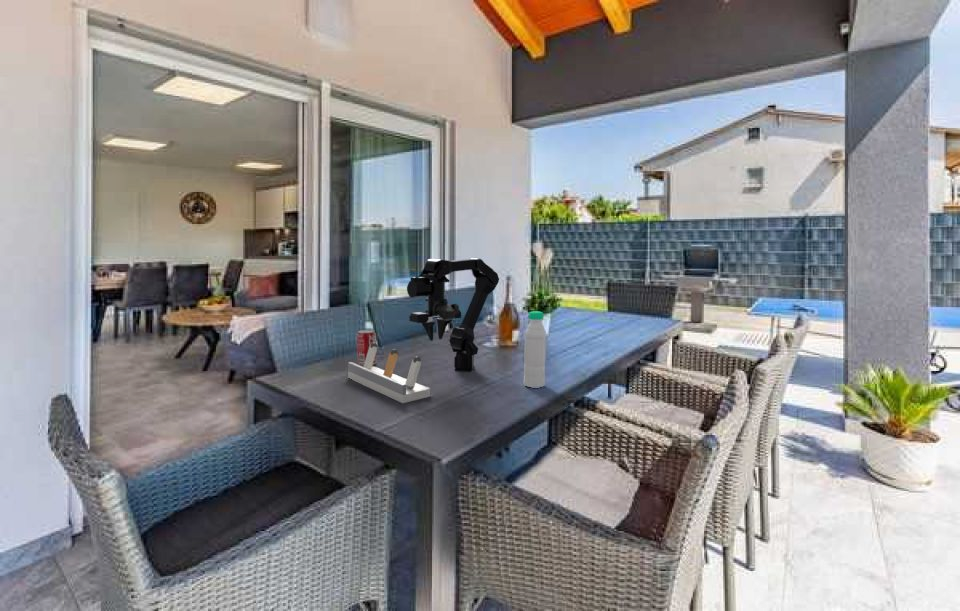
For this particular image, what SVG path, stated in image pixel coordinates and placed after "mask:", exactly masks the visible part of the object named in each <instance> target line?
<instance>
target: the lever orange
mask: <svg viewBox="0 0 960 611" xmlns="http://www.w3.org/2000/svg"><path fill="white" fill-rule="evenodd" d="M398 355H399V351H398V349H396V348H393V349H391V350H390V351H389V354H388V357H387V361H386V364H385V367H384V369H383V370H384V374H383V375H384V376H387V377H389V378H391V377H392V374H394V370H395V366H396V363H397V361H398V360H397V359H398Z"/></svg>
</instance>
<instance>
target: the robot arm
mask: <svg viewBox="0 0 960 611" xmlns="http://www.w3.org/2000/svg"><path fill="white" fill-rule="evenodd" d="M462 271H463V272H464V271H471V274H472V276H473V277H474V279H475V281H474V286H475V287H474V288H475V291H474V292H473V293H474V294H473V296H472V298H471V300H470V303H469V306H468V308H467V310H466V312H465V314H464V317H463V319H462V322H461V324H460V325H459V326H458V327H457V326H453V328H452V331H451V333H450V335H449V336H448V337H449V344H450V347H451V349H452V352H454V353H455V356H454V362H453V365H454V371H455V372H458V371H460V372H470V371H471V372H473V370H474V369H475V367H476V366H475V355H478V353H479V352H478V351H479V348H478V346H477V345H476V344H475V343H474V340H475V332H474V329H475V327H476V325H477V322H478V319H479V318H480V315H481V313H482V310H483V307H484V305H485V303H486V301H487V298H488V296H489V295H490V294H491V293H492V292H494V291H495V289H496V287H497V285H498V284H499V282H500V278H499V275H498V274H499V273H497V272H496V271H495V270H494V269H493V268H491V266H489V265H488V264H486V263H485V262H484V260H483V259H481V258H475V257H471V258H468V259H457V260H456V259H455V260H447V259H438V258H437V259H436V258H435V259H434V258H429V259H427V260H426V262H425V264H424V266H423V269H422V270H421V272H420V274H419V276H411V277H410V281H409V282H408V283H407V285H406V291H407V295H408V296H409V297H410V298H421V297H422V298H423V297H426V298H425V302H427V309H425V312H421V311H418V312H411V313H410V315H409V322H413V323H416V324H422V326H423V328H424V330H425V332H426V334H427V336H428V339H429V341H431V342H433V340H434V326H435V324H436V325H437V334H438V340H442V339H443V337H444V333H445V331H446V329H447V326H448V324H450V323H451V322H453V320H454V319H455V320H456V319H461V318H462V312H461V310H460V308H459V306H460V305H459V304H458V303H452V304H448V300H447V298H445V283H450V279H448V277H447V275H451V273H454V272H462ZM433 319H436V321H434V320H433Z"/></svg>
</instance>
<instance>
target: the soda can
mask: <svg viewBox="0 0 960 611" xmlns="http://www.w3.org/2000/svg"><path fill="white" fill-rule="evenodd" d="M376 338H377V335H376V333H375V330H373V329H360V330H358V331H357V334H356V354H357V365H360V366H362V367H363V366H364V363H365V360H366V356H367V353H368V350H369V346H370V345H371V343H373V342H375V343H377V339H376ZM376 363H377V354H376V355H375V358H374V361H373V365H372V366H375V365H376Z"/></svg>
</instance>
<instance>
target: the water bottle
mask: <svg viewBox="0 0 960 611" xmlns="http://www.w3.org/2000/svg"><path fill="white" fill-rule="evenodd" d="M528 320H529V323H528V325H527V328H526V330H525V332H524V337H525V338H524V348H523V349H524V351H523V352H524V354H523V355H524V356H523V357H524V358H523V359H524V365H523V386H524V385H525V386H529V387H540V386H544V387H545V385H546V377H545V373H546V366H545V365H546V357H547V354H546V353H547V341H546V340H547V331H546V330H545V326H544V325H543V320H544V312H542V311H539V310H538V311H537V310H534V311H530V312H528ZM525 386H524V387H525Z"/></svg>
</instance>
